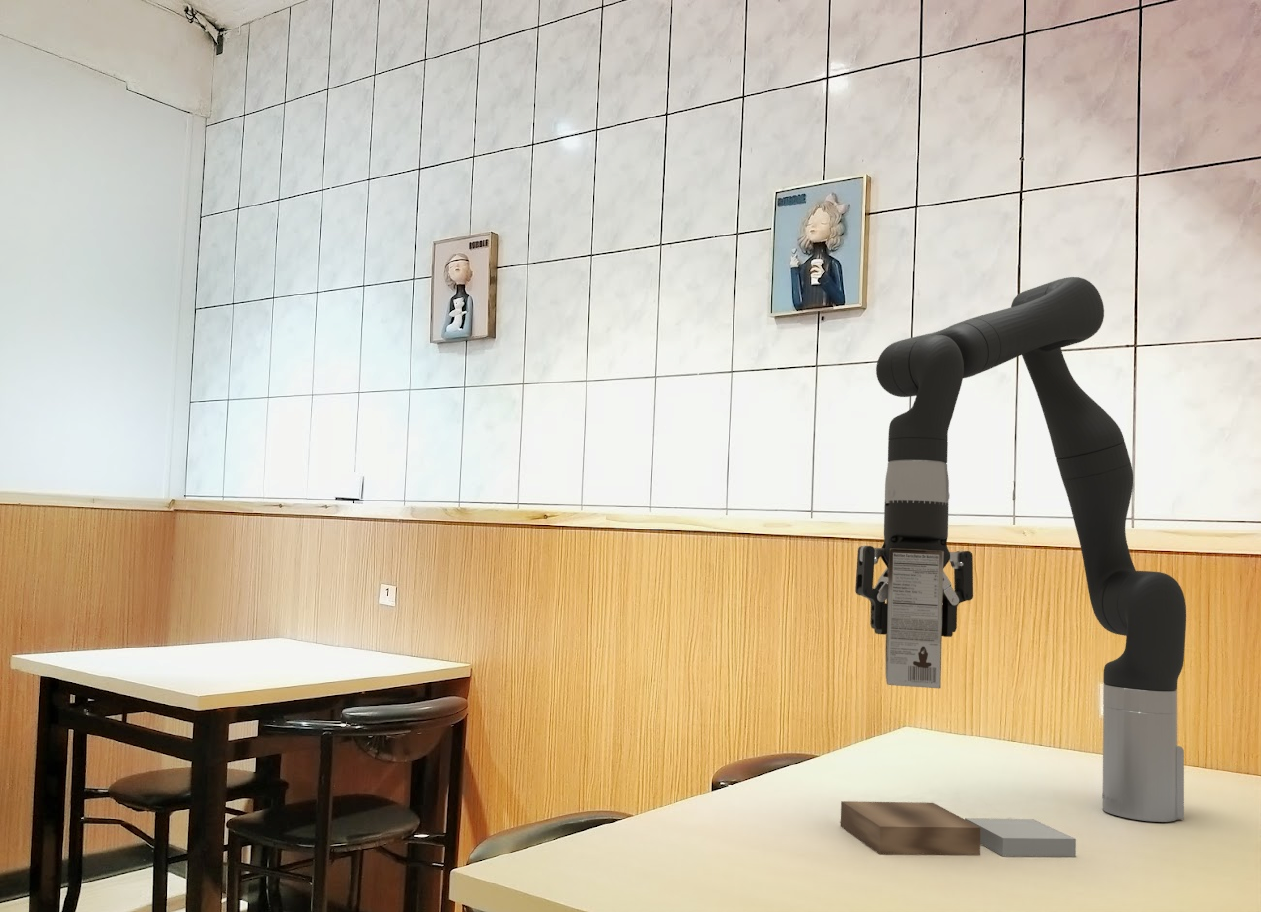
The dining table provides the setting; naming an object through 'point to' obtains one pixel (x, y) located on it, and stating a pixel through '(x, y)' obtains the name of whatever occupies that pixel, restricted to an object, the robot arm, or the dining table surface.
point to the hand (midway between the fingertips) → (913, 635)
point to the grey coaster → (1023, 838)
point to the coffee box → (914, 618)
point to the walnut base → (910, 828)
